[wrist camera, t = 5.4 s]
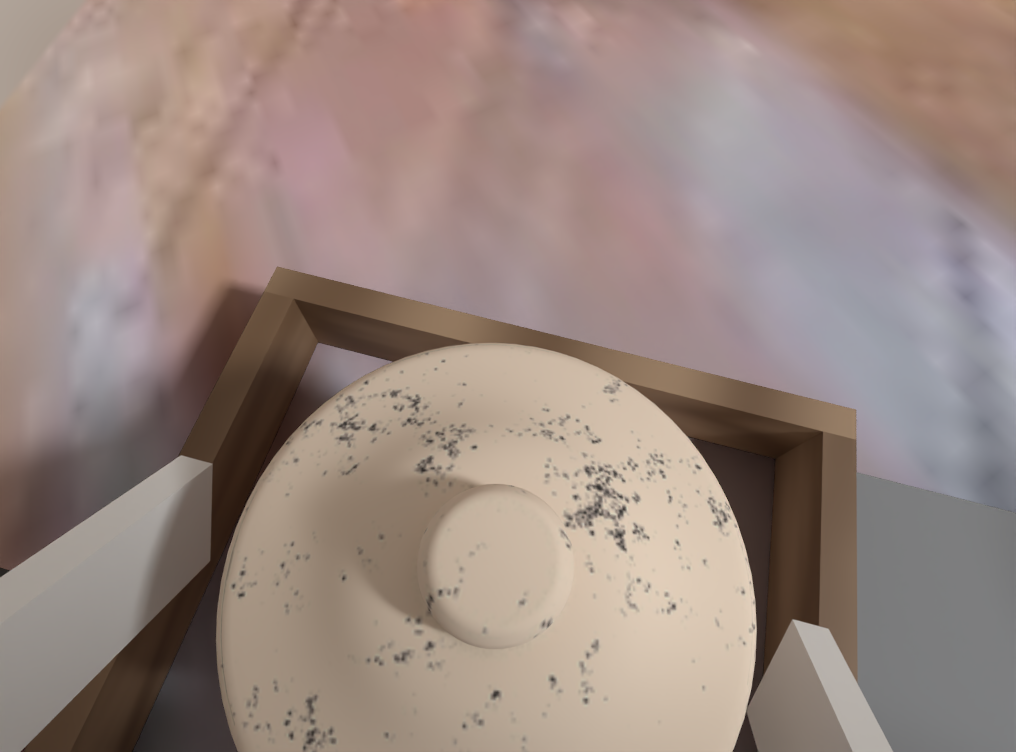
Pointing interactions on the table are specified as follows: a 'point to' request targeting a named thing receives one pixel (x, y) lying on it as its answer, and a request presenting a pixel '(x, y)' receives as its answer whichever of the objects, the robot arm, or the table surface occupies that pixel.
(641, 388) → the wooden frame
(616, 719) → the teacup with lid
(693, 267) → the table surface
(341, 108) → the table surface
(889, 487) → the rubber mat
